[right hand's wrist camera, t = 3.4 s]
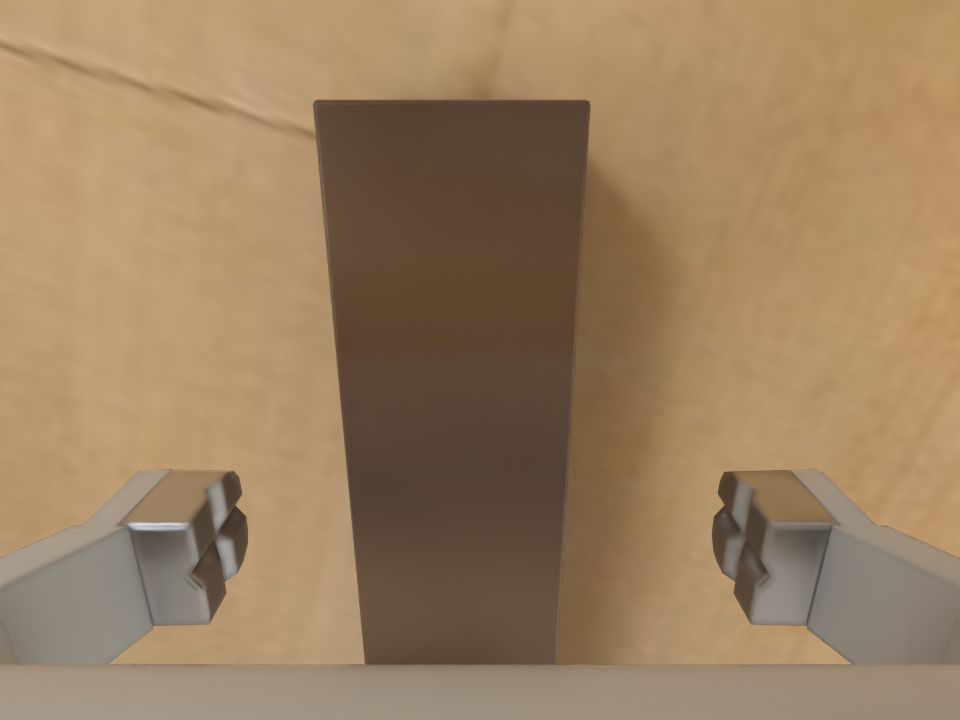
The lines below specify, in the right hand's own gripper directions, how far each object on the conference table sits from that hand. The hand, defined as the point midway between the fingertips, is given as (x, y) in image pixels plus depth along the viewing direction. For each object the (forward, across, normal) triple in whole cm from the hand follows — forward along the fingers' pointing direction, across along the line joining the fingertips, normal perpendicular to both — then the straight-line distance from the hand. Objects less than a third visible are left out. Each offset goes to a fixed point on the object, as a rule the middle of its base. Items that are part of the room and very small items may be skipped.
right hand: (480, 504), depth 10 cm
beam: (+10, -1, -20) cm, 23 cm away
